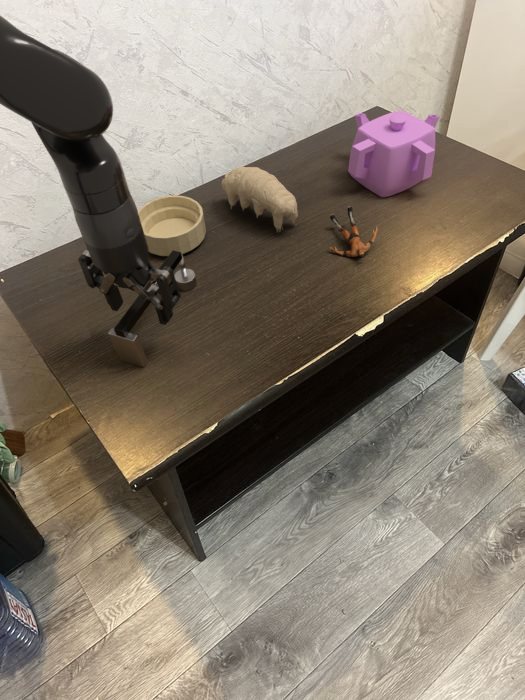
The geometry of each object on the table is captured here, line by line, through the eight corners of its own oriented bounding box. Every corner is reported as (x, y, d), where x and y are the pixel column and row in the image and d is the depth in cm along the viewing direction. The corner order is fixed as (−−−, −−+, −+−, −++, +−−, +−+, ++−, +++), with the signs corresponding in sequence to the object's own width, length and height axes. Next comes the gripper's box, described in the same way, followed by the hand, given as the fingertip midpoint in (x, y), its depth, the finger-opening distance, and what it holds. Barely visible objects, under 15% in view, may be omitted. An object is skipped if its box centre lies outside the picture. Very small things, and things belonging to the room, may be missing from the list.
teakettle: (345, 196, 101) (350, 138, 92) (351, 151, 112) (356, 95, 102) (431, 202, 99) (446, 143, 89) (429, 155, 109) (443, 97, 99)
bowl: (155, 268, 91) (148, 246, 87) (131, 230, 98) (125, 209, 94) (217, 243, 94) (214, 222, 90) (190, 209, 101) (186, 188, 98)
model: (238, 192, 104) (233, 147, 96) (305, 225, 96) (306, 179, 89) (216, 208, 101) (209, 163, 93) (283, 243, 94) (282, 197, 86)
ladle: (180, 274, 90) (171, 239, 84) (202, 279, 89) (195, 244, 82) (119, 360, 78) (104, 327, 72) (144, 367, 77) (130, 334, 71)
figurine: (363, 199, 92) (387, 243, 86) (365, 208, 94) (388, 251, 88) (317, 220, 93) (337, 265, 88) (319, 228, 95) (339, 272, 90)
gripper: (174, 220, 64) (194, 307, 77) (81, 200, 68) (115, 286, 80) (144, 258, 60) (171, 343, 72) (47, 234, 63) (88, 319, 76)
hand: (141, 313), depth 76 cm, fingers open, 8 cm apart
